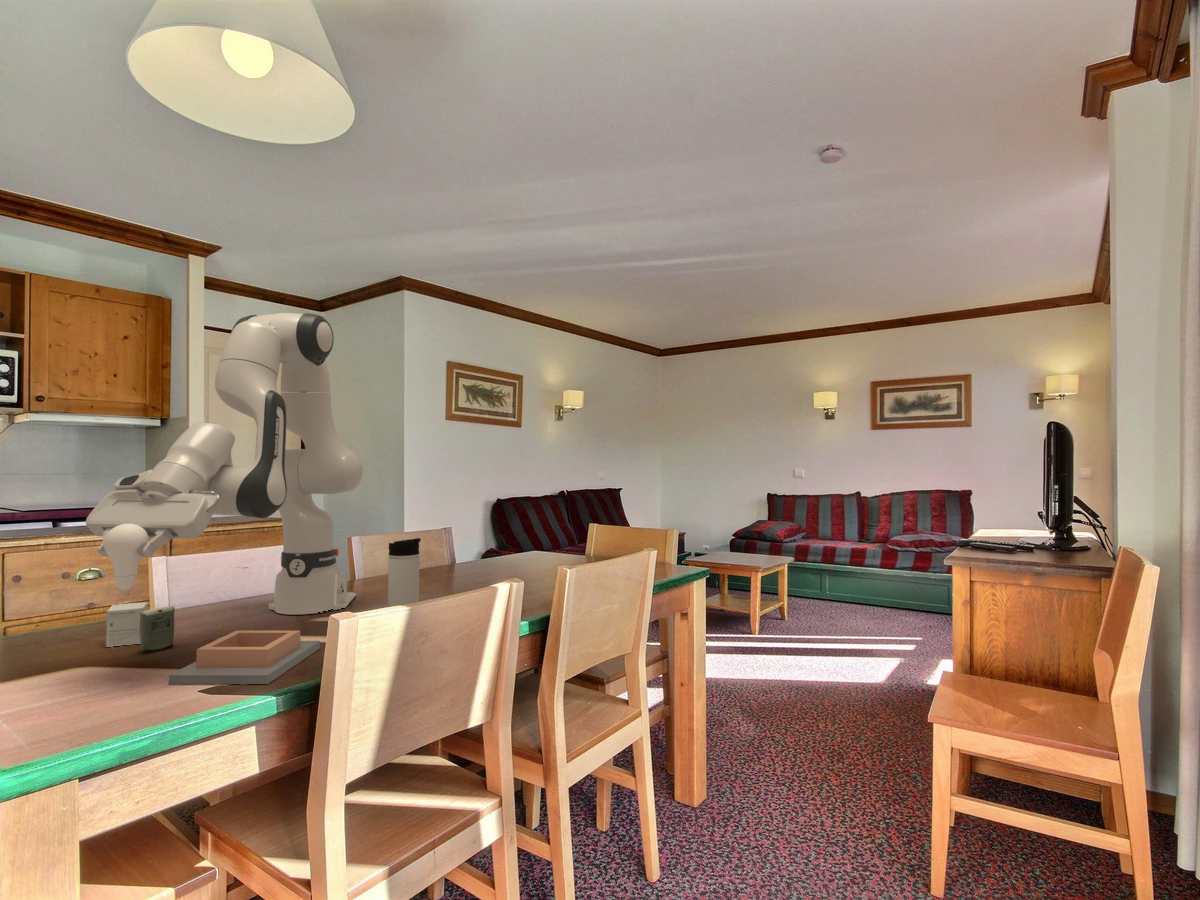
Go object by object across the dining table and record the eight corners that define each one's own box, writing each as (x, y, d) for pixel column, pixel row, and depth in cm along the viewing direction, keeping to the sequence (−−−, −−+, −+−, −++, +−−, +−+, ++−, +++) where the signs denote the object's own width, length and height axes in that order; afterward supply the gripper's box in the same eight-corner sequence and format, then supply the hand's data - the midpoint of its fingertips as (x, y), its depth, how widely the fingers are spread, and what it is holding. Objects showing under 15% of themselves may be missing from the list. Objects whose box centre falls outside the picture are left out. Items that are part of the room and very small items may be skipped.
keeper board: (236, 648, 125) (237, 625, 125) (319, 648, 125) (320, 625, 125) (168, 684, 105) (169, 656, 105) (267, 684, 105) (267, 656, 105)
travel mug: (411, 638, 132) (412, 540, 133) (382, 636, 134) (382, 539, 134) (425, 630, 139) (426, 536, 139) (397, 628, 140) (398, 536, 140)
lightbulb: (117, 596, 102) (120, 526, 102) (92, 592, 105) (95, 524, 105) (156, 589, 108) (158, 523, 108) (132, 585, 110) (134, 521, 110)
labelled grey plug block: (159, 654, 121) (159, 611, 121) (131, 654, 121) (131, 611, 121) (178, 645, 127) (179, 604, 127) (151, 645, 127) (152, 604, 127)
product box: (105, 648, 125) (105, 610, 125) (111, 640, 130) (111, 604, 130) (143, 644, 128) (144, 607, 128) (148, 637, 133) (148, 601, 133)
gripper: (232, 503, 116) (191, 567, 107) (131, 502, 119) (81, 564, 109) (214, 479, 112) (169, 544, 102) (109, 478, 115) (56, 541, 105)
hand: (123, 554), depth 106 cm, fingers closed on lightbulb, 6 cm apart
